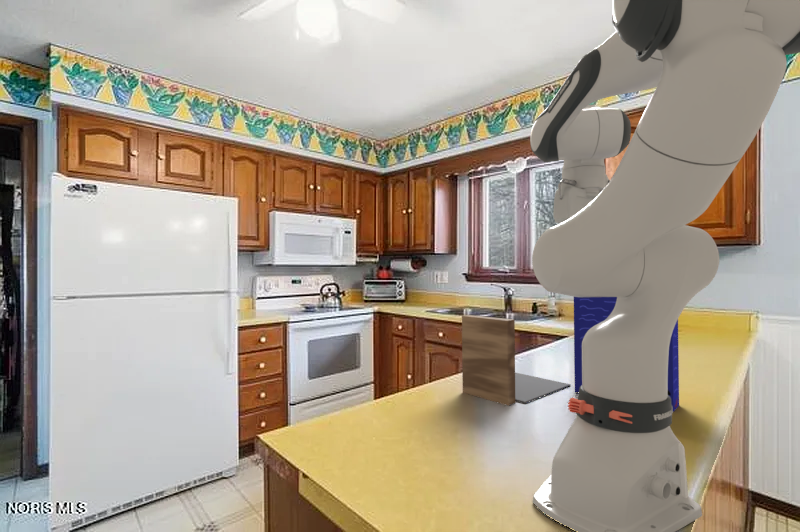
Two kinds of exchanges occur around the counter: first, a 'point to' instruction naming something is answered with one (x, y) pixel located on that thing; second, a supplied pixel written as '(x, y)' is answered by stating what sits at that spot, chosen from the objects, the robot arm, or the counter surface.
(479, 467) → the counter surface
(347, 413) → the counter surface
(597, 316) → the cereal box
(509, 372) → the board
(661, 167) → the robot arm
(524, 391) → the mat
